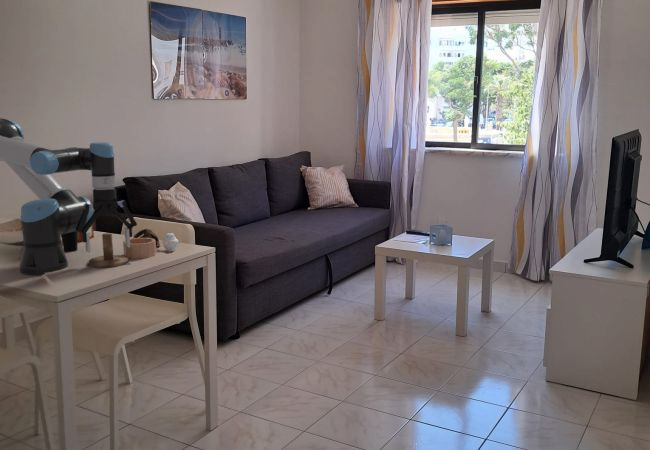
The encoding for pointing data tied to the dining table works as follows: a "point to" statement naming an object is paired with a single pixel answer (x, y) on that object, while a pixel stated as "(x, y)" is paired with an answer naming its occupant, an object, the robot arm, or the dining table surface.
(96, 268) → the grey mat
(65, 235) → the drinking cup
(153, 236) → the pottery mug
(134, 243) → the terracotta bowl
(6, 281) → the dining table surface
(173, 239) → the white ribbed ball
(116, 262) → the walnut lid
